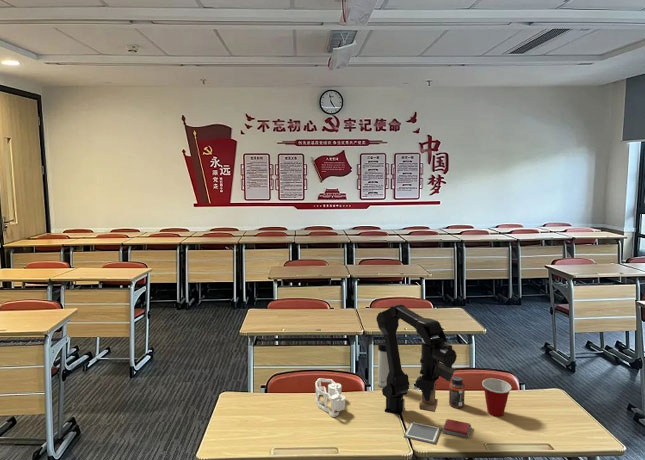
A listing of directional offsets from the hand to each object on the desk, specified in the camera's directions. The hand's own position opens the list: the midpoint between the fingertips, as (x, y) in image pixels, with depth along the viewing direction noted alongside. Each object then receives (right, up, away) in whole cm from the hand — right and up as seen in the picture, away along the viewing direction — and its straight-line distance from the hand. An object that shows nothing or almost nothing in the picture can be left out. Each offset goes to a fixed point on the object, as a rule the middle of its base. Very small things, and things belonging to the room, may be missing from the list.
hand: (428, 398), depth 164 cm
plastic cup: (+30, -12, +15) cm, 35 cm away
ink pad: (+11, -13, +3) cm, 17 cm away
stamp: (0, -3, 0) cm, 4 cm away
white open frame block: (-35, -11, +23) cm, 43 cm away
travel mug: (-10, -10, +40) cm, 43 cm away
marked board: (-2, -13, +1) cm, 13 cm away
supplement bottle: (+17, -11, +22) cm, 30 cm away
